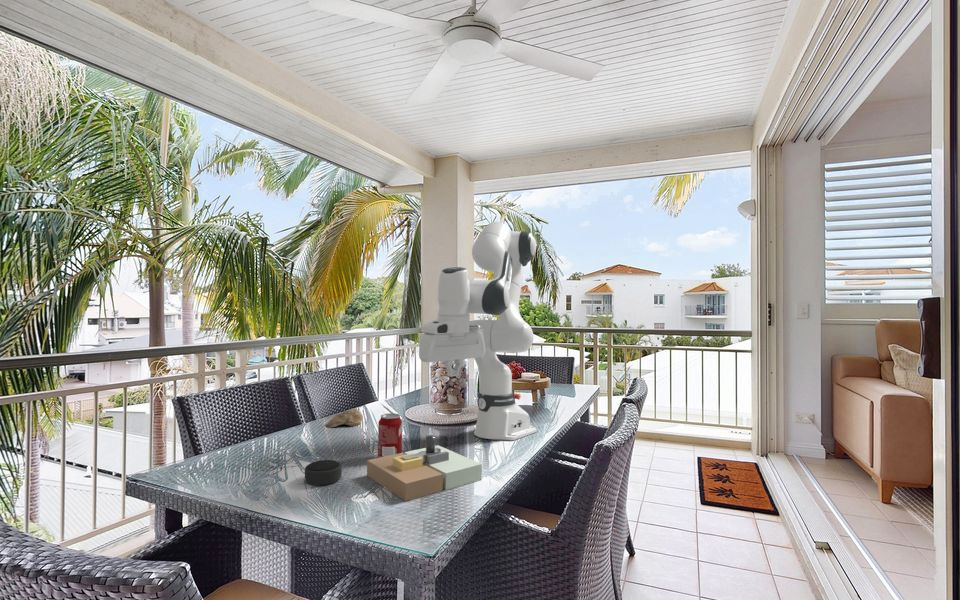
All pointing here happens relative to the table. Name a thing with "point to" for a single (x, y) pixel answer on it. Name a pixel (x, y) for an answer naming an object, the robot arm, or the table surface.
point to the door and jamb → (423, 472)
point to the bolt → (429, 451)
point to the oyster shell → (346, 418)
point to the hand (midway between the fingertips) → (453, 376)
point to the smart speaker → (323, 472)
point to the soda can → (389, 435)
